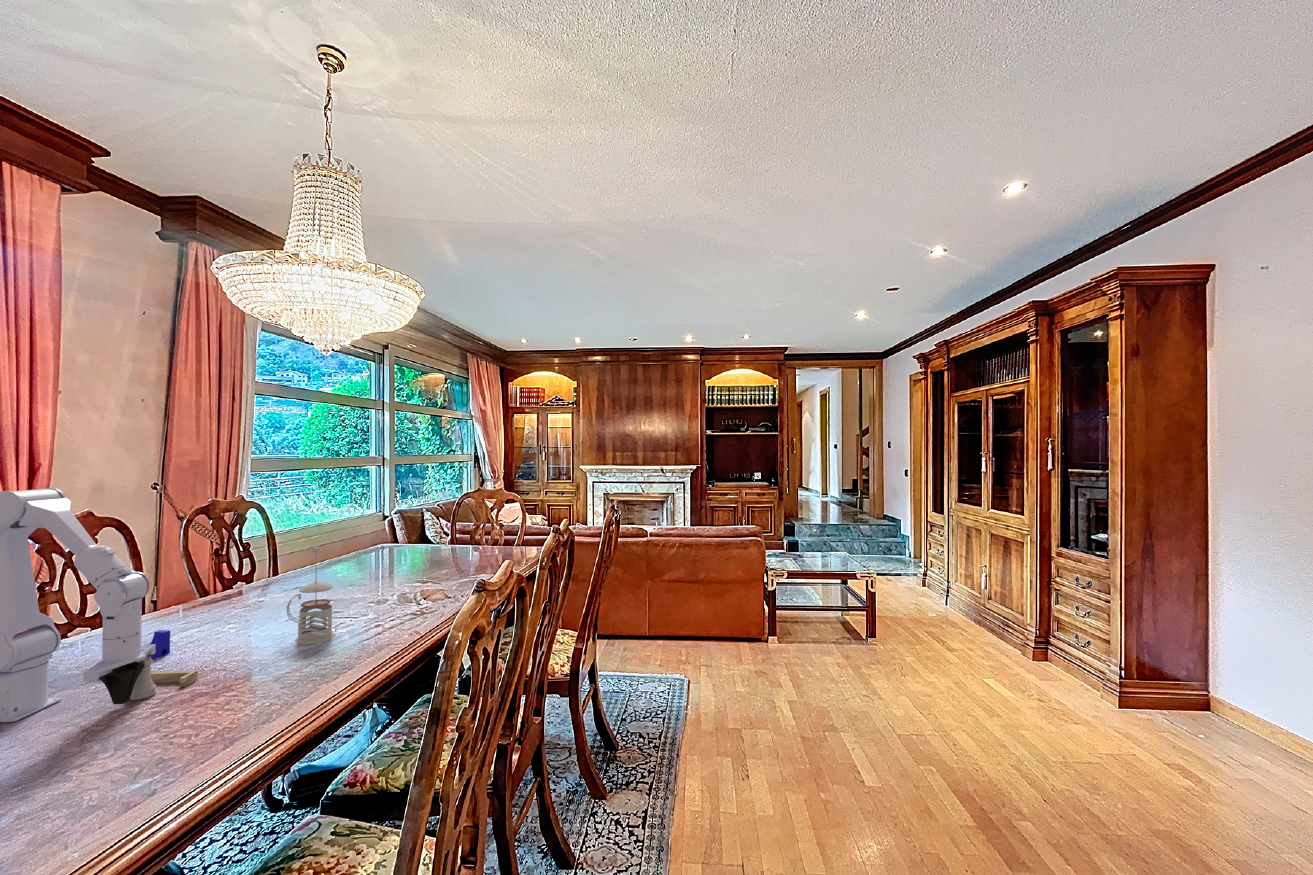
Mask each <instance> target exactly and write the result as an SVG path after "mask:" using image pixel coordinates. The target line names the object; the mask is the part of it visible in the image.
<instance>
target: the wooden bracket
mask: <svg viewBox="0 0 1313 875" xmlns="http://www.w3.org/2000/svg"><path fill="white" fill-rule="evenodd" d="M151 679H152V681H153V684H157V683H160V684H162V683H179V688H185V687H188V686H189V685H190V684H192V683H194V682H196V681H198V680H199V671H198V670H183V671H177V670H176V671H156V672H155V671H153V672H151Z"/></svg>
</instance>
